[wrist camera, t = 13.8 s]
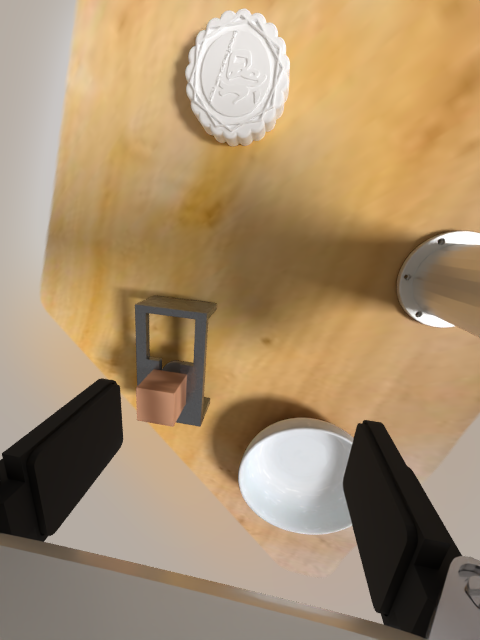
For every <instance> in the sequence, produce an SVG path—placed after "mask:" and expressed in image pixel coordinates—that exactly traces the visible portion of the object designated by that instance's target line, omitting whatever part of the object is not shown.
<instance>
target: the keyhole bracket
mask: <svg viewBox="0 0 480 640" xmlns="http://www.w3.org/2000/svg"><path fill="white" fill-rule="evenodd" d="M216 306H217V303H211V302H203V301H194V300H186V299H178V298H170V297H162V296H152V297H150V298H148V299H146V300H144V301H141V302H139V303H137V304H135V322H136V357H137V386H138V385H139V384H140V383H141V382H142V381H143V380H144V379H145V378H146V377H147V376H148V375H149V374H150V373H151V372H152V370H153V369H155V370H162V358H157V357H150V349H149V313H151V314H159V315H167V316H174V317H182V318H190V319H196V321H195V343H194V363H191V362H184V361H183V362H182V363H181V366H180V373H181V374H187V385H186V405H185V406H184V408H183V410H182V412H181V414H180V415H179V417H178V419H177V421H176V422H177V423H183V424H189V425H195V426H201V424H202V421H203V419H204V416H205V414H206V412H207V409H208V407H209V404H210V398H205V397H204V383H205V367H206V350H207V333H208V318H209V317H210V316H211V315H212V314H213V313H214V312H215V310H216Z"/></svg>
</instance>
